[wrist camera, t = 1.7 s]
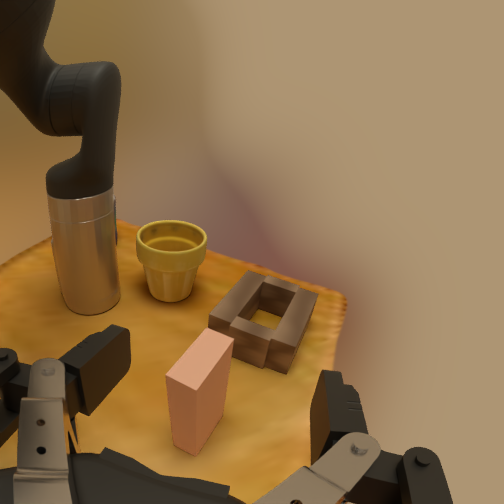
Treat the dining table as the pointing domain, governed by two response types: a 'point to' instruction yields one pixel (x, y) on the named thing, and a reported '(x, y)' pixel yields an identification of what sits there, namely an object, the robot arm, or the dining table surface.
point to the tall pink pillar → (199, 389)
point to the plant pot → (170, 257)
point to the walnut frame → (257, 336)
